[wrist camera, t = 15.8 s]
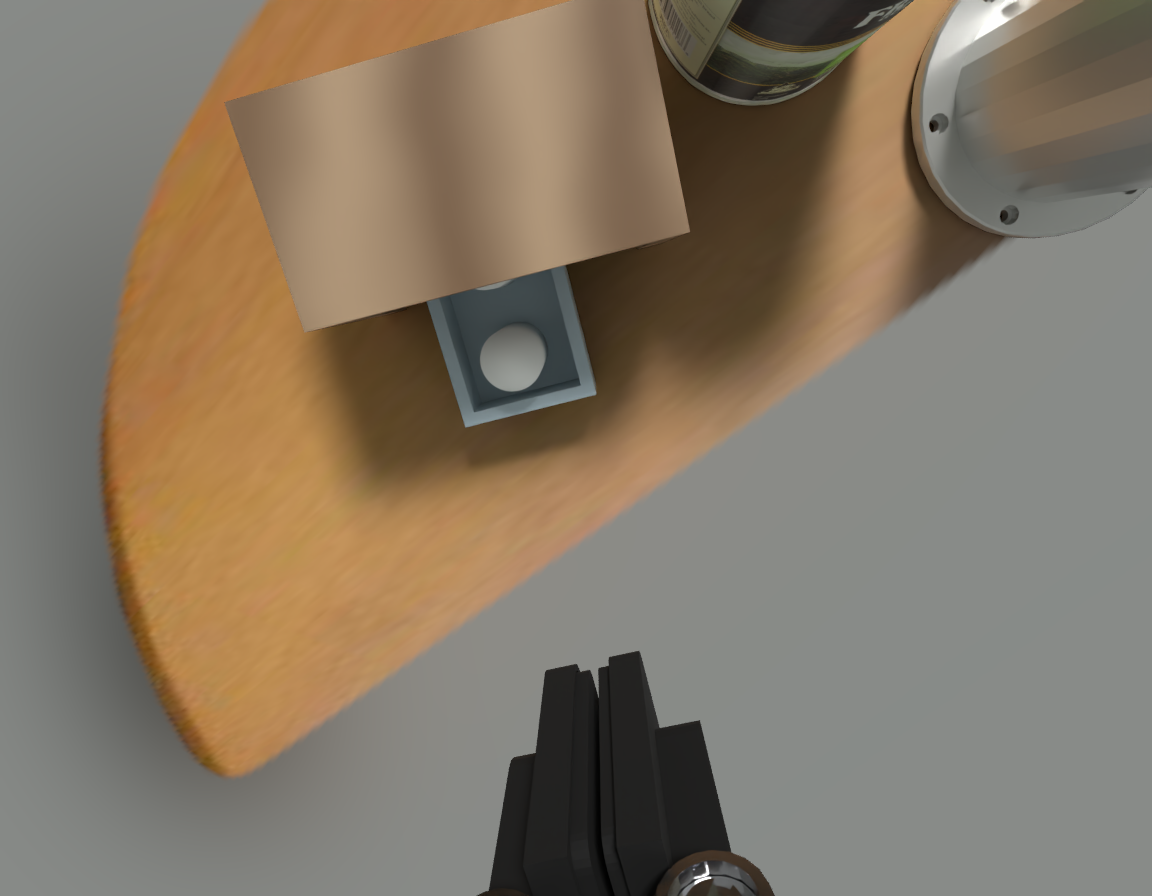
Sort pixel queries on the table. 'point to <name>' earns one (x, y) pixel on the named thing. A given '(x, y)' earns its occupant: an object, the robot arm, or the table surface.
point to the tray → (486, 318)
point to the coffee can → (764, 42)
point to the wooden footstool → (465, 161)
